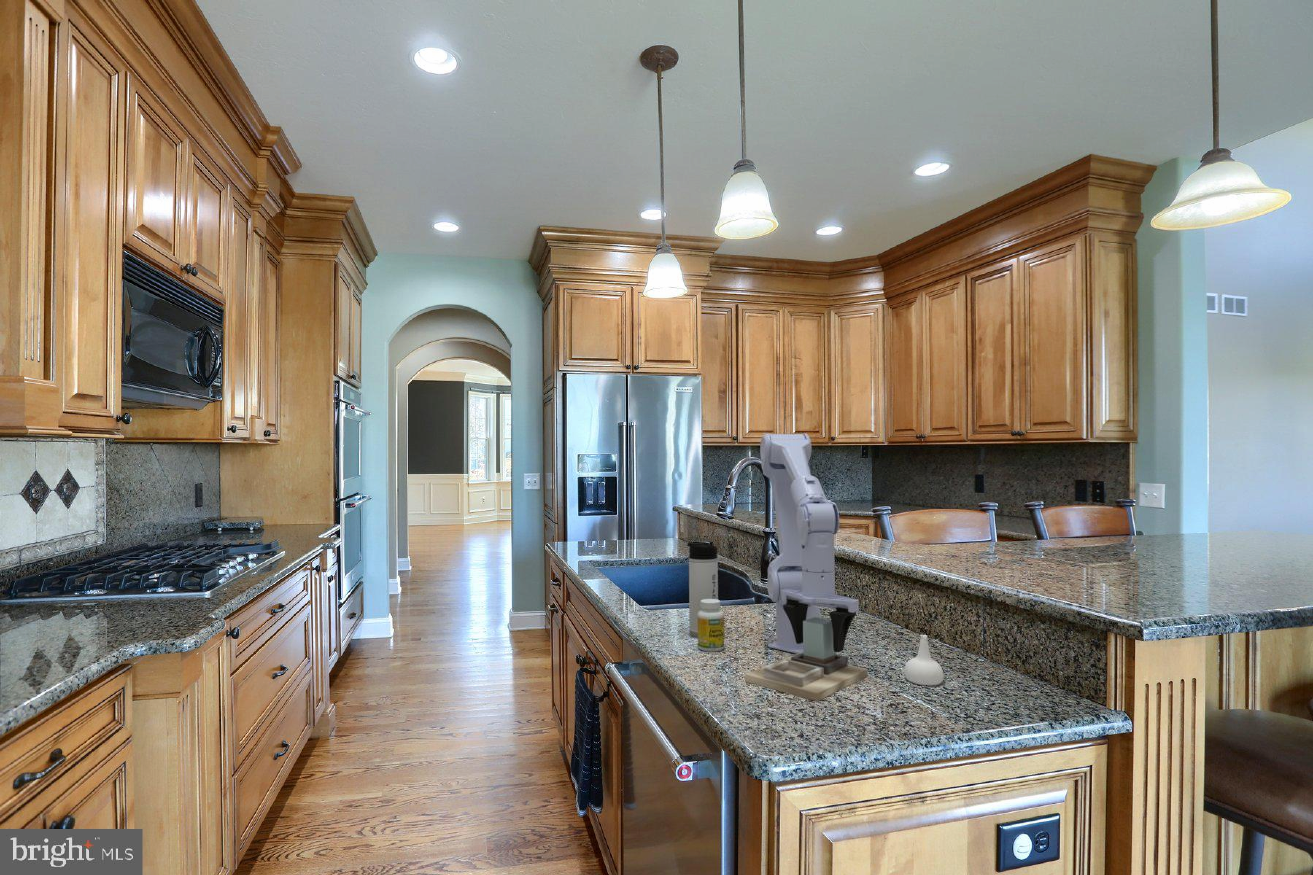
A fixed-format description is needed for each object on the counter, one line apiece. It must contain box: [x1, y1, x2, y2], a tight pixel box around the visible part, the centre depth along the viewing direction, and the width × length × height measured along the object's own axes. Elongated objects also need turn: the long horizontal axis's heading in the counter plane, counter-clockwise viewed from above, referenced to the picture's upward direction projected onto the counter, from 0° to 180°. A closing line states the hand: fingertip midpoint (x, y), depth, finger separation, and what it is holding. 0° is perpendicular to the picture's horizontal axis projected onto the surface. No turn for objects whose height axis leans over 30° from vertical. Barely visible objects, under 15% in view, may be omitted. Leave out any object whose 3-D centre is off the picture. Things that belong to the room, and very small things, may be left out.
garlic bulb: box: [903, 634, 945, 687], centre depth 114 cm, size 6×6×8 cm
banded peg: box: [803, 617, 836, 664], centre depth 118 cm, size 4×4×8 cm
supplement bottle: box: [697, 599, 725, 653], centre depth 134 cm, size 5×5×10 cm
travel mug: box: [687, 541, 719, 639], centre depth 145 cm, size 6×7×20 cm
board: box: [744, 653, 869, 702], centre depth 115 cm, size 17×14×3 cm
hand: (819, 646), depth 118 cm, fingers open, 7 cm apart
